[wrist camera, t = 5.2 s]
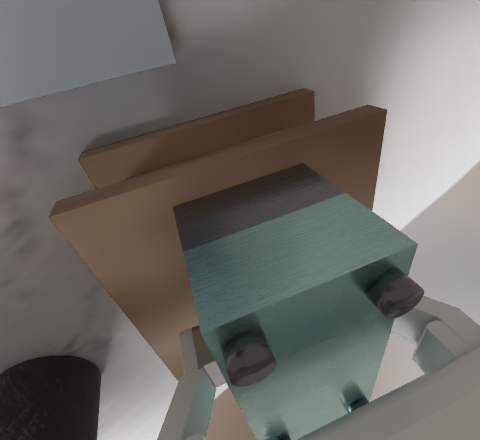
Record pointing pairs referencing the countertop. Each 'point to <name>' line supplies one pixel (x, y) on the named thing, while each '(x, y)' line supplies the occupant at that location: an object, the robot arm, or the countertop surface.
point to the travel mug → (50, 400)
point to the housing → (295, 295)
